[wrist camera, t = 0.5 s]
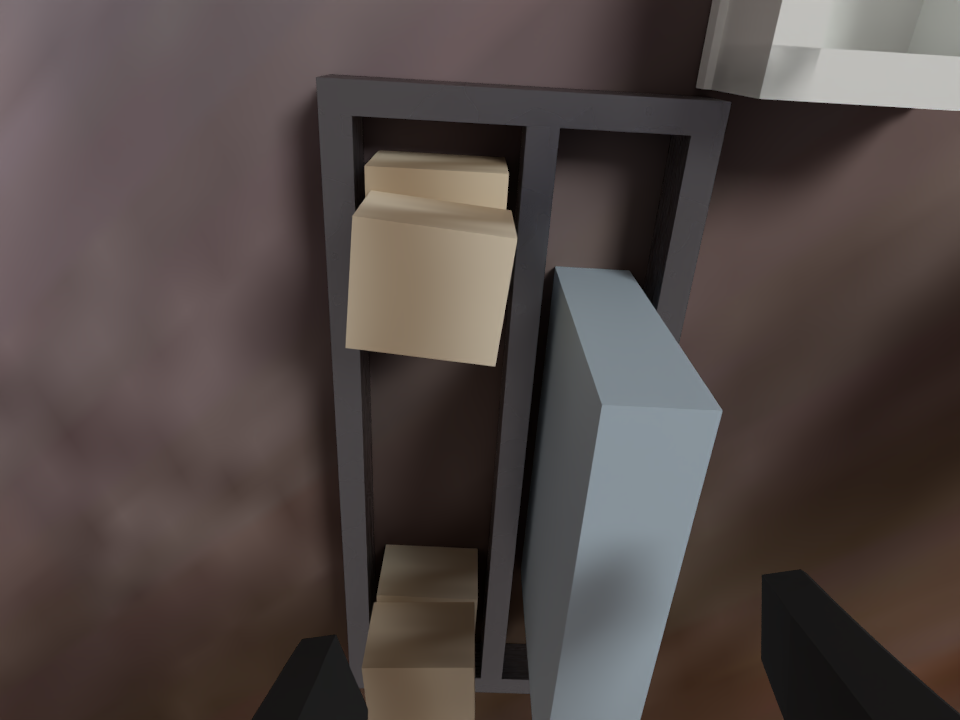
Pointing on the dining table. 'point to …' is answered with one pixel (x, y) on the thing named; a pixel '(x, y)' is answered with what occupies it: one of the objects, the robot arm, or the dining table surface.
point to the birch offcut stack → (431, 257)
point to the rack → (665, 286)
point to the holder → (835, 51)
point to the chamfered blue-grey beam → (608, 496)
